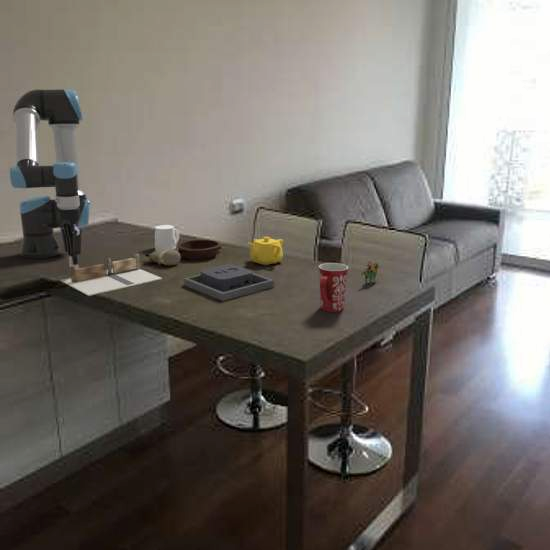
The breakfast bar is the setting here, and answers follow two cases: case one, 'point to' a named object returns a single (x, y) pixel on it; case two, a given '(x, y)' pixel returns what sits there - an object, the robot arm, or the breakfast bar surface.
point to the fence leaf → (87, 272)
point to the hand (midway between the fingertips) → (74, 272)
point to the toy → (165, 257)
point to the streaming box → (226, 277)
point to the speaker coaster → (261, 285)
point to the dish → (198, 249)
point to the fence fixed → (123, 265)
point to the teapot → (266, 250)
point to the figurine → (370, 271)
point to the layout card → (112, 281)
